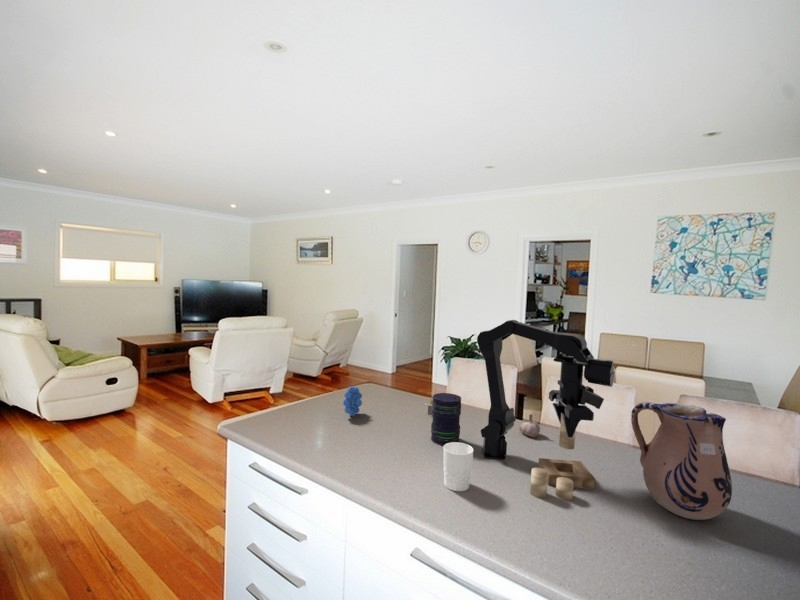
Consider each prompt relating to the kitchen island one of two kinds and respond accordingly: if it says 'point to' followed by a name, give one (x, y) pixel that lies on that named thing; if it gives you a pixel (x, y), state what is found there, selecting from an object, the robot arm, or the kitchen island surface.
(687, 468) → the ceramic pitcher
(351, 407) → the grapes
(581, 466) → the collar block
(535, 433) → the garlic bulb
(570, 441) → the long dowel
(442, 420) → the storage jar
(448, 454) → the white cup
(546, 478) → the medium dowel
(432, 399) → the platform
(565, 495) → the stub dowel
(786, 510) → the kitchen island surface
